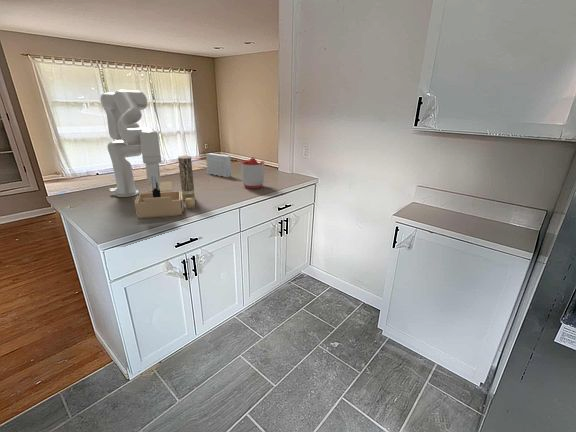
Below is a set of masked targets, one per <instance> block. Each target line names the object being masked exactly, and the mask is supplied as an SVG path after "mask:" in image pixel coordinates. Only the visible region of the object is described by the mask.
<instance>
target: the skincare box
mask: <svg viewBox="0 0 576 432" xmlns="http://www.w3.org/2000/svg"><path fill="white" fill-rule="evenodd" d="M205 157H206V173H208V174H207V175H211V174H213V175H212V176H216V175H218V176H217V177H221V176H223V178H226V177H227V178H231V177H232V166H231V156H230V155H225V154H221V153H220V154H218V153H214V152H213V153H212V152H210V153H206V154H205ZM230 176H231V177H230Z"/></svg>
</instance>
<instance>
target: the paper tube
mask: <svg viewBox="0 0 576 432" xmlns="http://www.w3.org/2000/svg"><path fill="white" fill-rule="evenodd" d="M177 160H178V169H179V177H180V187H181V192H182V196H183V201H185V199H186V198H190V197H192V198H194V199H195V197H196V196H195V195H196V194H195V185H194V176H193V164H192V163H193V162H192V156H191V155H179V156H178V157H177Z"/></svg>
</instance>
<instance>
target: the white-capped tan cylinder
mask: <svg viewBox="0 0 576 432" xmlns="http://www.w3.org/2000/svg"><path fill="white" fill-rule="evenodd" d="M195 201H196V200H195V199H194V198H192V197H190V198H186V199H185V200H184V202H185V209H188V210H189V209H190V210H191V209H194V208H196V202H195Z"/></svg>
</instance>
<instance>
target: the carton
mask: <svg viewBox="0 0 576 432" xmlns="http://www.w3.org/2000/svg"><path fill="white" fill-rule="evenodd" d="M160 194H161V197H169V196H171V199H172V201H162V202H149V203H145V202H144V201H143V198H153V193H152V192H145V193H139V194H137V196H136V198H135V200H134V207H135V213H136V216H138V217H137V218H138V220H139V219H142V220H143V219H151V218H153V219H154V218H162V217H174V216H182V215H183V212H184V200H183V196H182V191H180V190H177V191H162V192H160Z"/></svg>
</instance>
